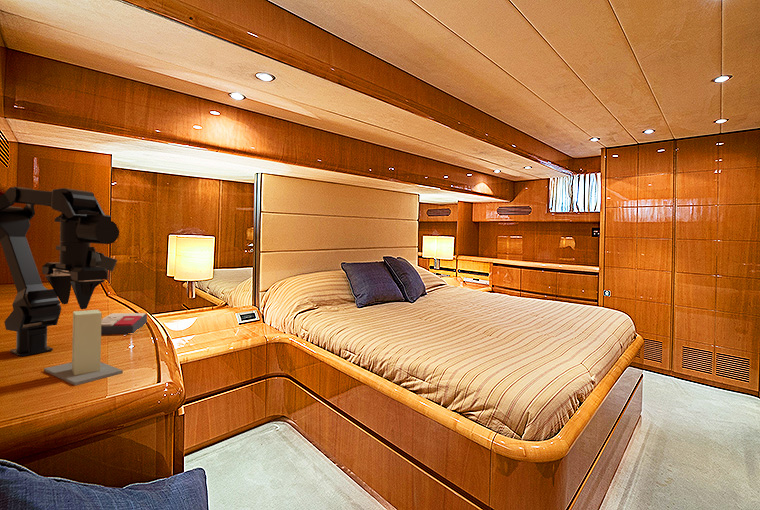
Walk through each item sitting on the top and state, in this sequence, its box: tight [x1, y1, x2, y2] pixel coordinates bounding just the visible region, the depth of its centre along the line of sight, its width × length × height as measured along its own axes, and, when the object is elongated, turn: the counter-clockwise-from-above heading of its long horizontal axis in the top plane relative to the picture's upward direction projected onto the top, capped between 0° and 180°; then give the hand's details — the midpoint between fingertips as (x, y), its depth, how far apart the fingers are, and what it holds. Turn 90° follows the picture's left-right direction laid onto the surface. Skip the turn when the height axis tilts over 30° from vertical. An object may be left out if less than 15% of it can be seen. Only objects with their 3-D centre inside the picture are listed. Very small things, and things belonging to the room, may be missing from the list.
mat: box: [43, 361, 124, 386], centre depth 84 cm, size 14×9×1 cm, turn 62°
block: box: [71, 309, 103, 375], centre depth 83 cm, size 4×4×13 cm
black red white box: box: [101, 312, 148, 336], centre depth 121 cm, size 11×4×15 cm
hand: (74, 306), depth 91 cm, fingers open, 9 cm apart
